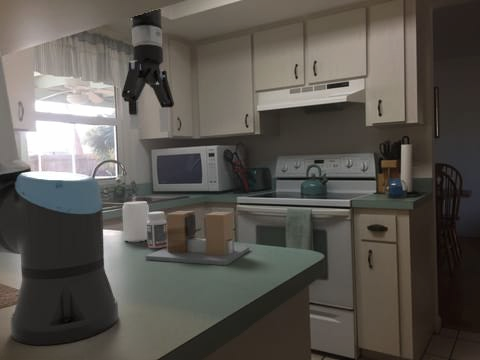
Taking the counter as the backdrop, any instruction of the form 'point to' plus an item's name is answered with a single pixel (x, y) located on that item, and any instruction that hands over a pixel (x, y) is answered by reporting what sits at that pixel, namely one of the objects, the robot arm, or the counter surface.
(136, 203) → the white piece
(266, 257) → the counter surface
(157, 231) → the pill bottle
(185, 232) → the notched tan block
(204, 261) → the rail
